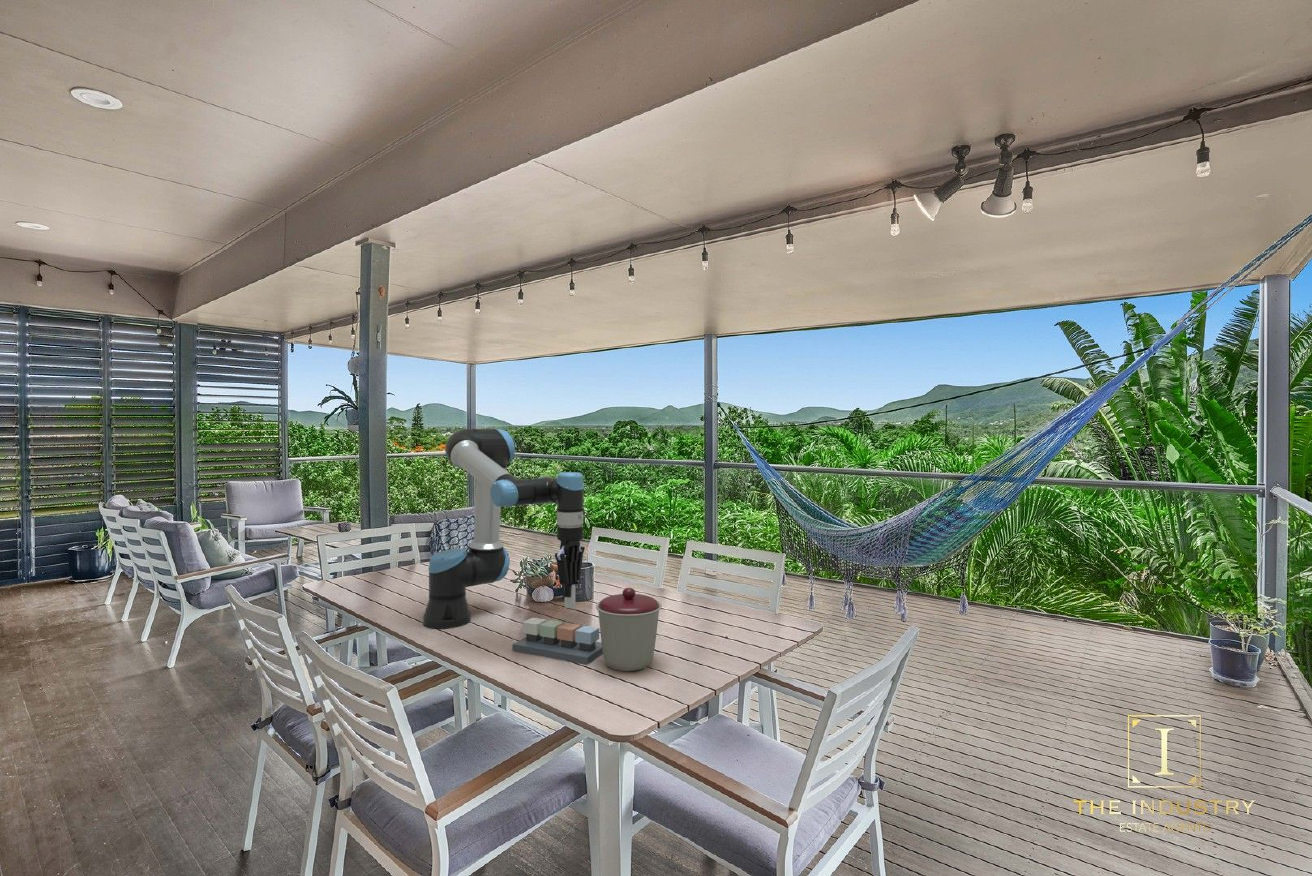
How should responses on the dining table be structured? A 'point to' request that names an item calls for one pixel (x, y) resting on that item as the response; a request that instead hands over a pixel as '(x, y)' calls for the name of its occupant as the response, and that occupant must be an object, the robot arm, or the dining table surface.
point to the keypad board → (558, 649)
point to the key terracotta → (567, 631)
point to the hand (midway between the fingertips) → (569, 607)
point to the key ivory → (532, 626)
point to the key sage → (550, 628)
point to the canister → (628, 629)
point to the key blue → (587, 635)
